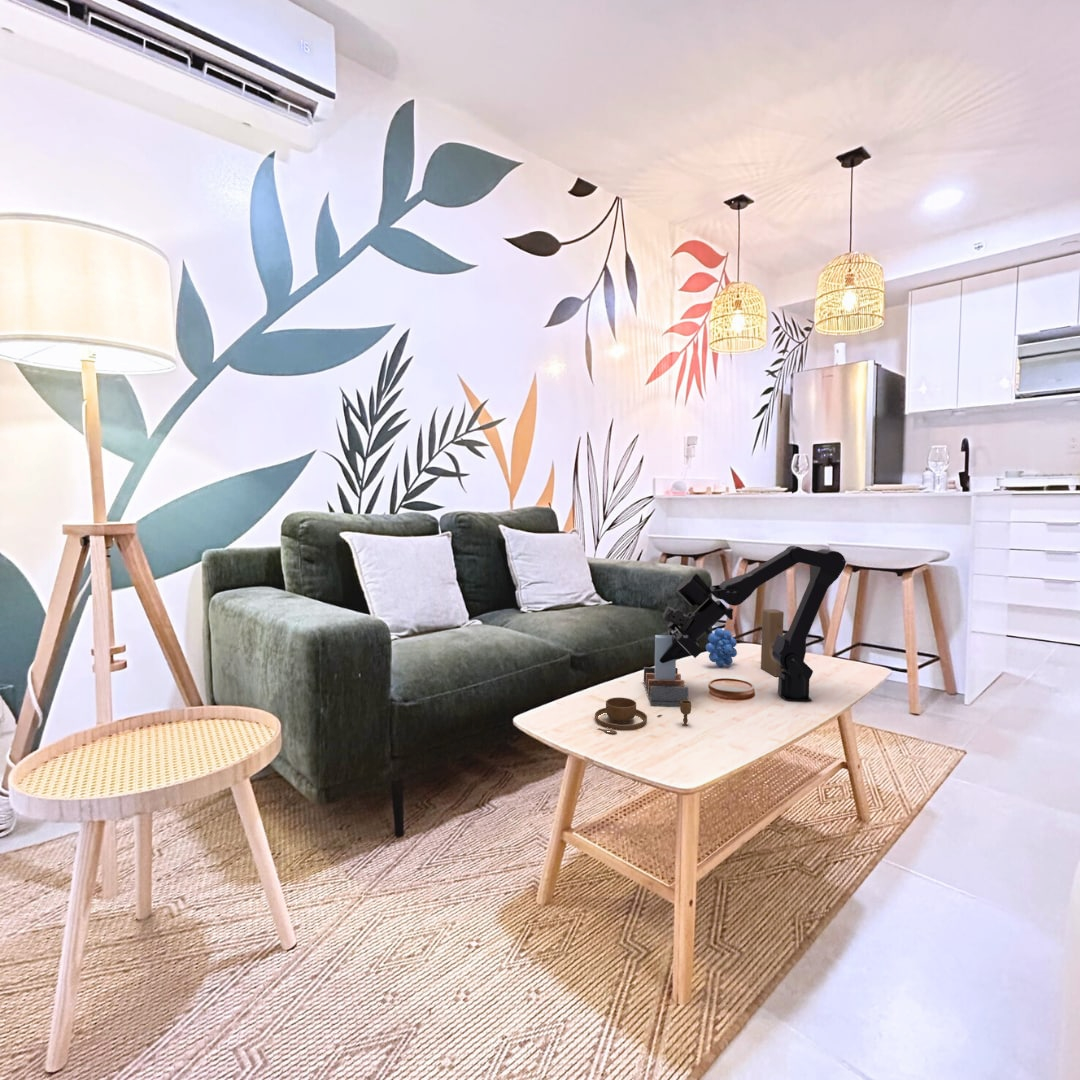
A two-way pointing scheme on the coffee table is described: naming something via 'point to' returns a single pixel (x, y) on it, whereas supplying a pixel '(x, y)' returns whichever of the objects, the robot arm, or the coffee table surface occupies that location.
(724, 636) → the grapes
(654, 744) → the coffee table surface
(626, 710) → the place setting
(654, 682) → the rack
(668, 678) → the blue-gray rectangular block
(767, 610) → the wooden block
